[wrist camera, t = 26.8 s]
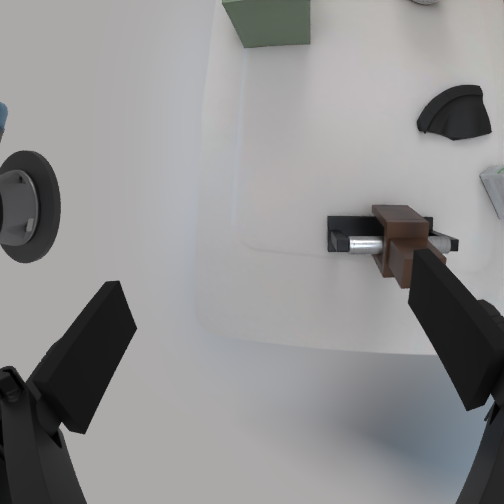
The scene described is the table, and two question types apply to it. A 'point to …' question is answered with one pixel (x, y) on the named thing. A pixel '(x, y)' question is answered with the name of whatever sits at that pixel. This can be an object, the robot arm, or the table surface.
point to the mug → (425, 1)
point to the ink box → (495, 187)
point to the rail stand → (373, 235)
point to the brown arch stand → (401, 241)
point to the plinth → (270, 21)
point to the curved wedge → (456, 114)
